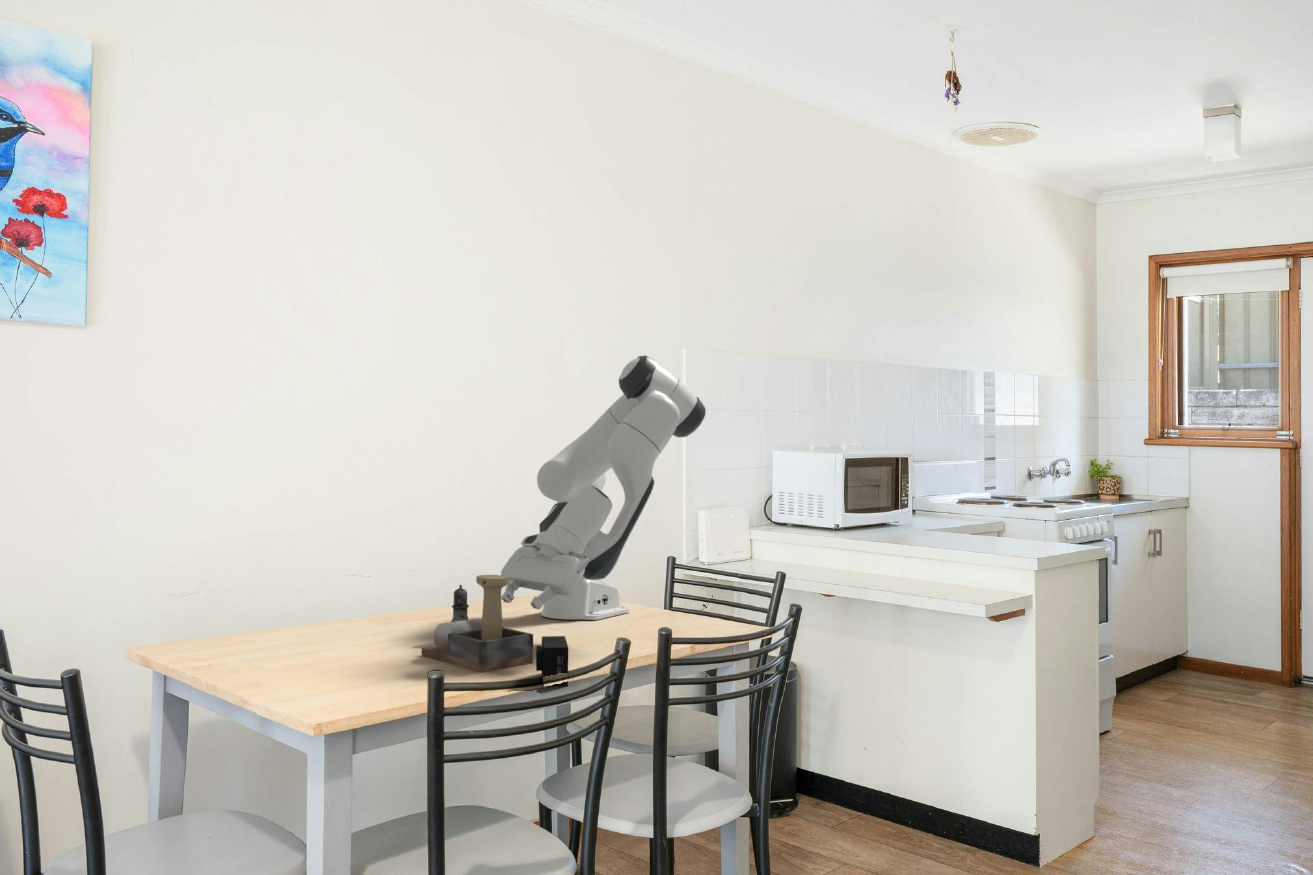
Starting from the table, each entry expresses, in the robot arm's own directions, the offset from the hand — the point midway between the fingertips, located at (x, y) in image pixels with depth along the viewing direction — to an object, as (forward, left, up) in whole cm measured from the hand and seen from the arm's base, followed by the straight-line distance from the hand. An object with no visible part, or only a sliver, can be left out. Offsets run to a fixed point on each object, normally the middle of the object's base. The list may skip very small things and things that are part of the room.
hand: (519, 603), depth 201 cm
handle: (+6, 0, -9) cm, 11 cm away
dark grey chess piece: (-1, -22, -11) cm, 24 cm away
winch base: (+7, -5, -11) cm, 13 cm away
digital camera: (+7, +18, -11) cm, 22 cm away
